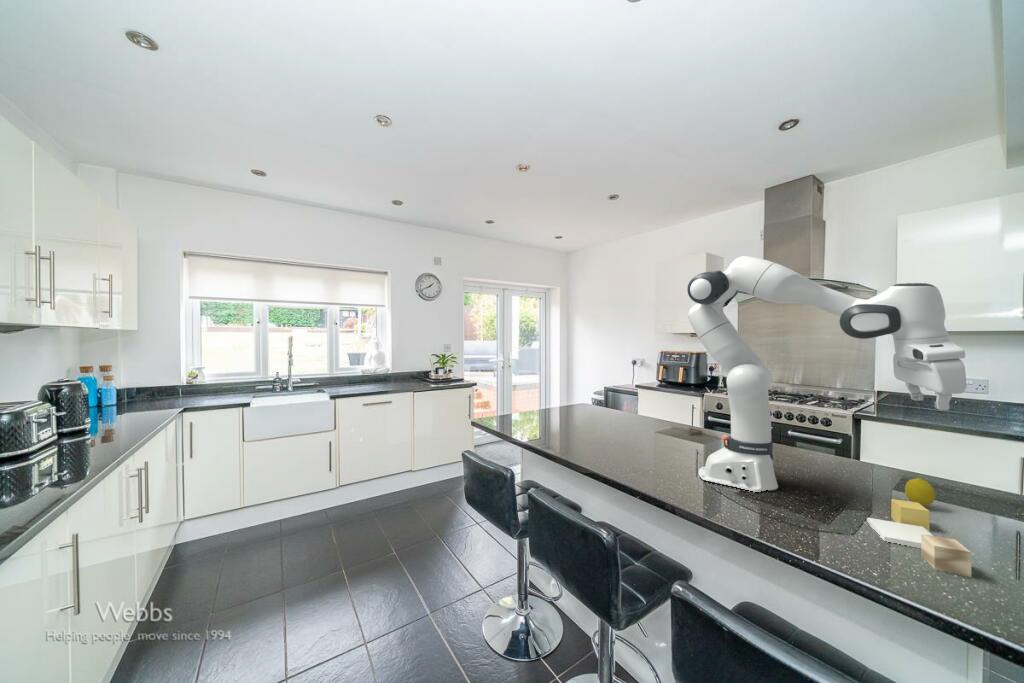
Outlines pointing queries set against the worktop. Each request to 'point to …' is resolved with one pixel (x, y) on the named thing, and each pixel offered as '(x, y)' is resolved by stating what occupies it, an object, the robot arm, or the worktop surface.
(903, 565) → the worktop surface
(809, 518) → the worktop surface
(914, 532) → the plate
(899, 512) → the mustard brick
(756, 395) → the robot arm
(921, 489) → the lemon
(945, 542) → the beech brick
